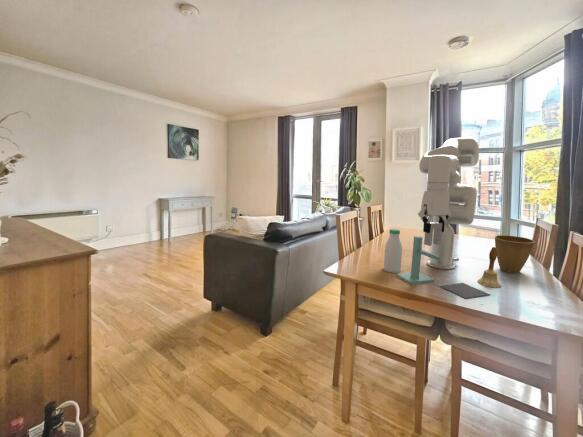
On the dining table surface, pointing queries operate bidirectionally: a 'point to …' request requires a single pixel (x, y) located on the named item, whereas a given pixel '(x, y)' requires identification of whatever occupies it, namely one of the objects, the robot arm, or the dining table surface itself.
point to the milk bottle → (393, 252)
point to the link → (437, 234)
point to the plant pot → (512, 252)
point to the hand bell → (490, 272)
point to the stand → (417, 264)
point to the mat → (464, 290)
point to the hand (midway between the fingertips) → (433, 231)
